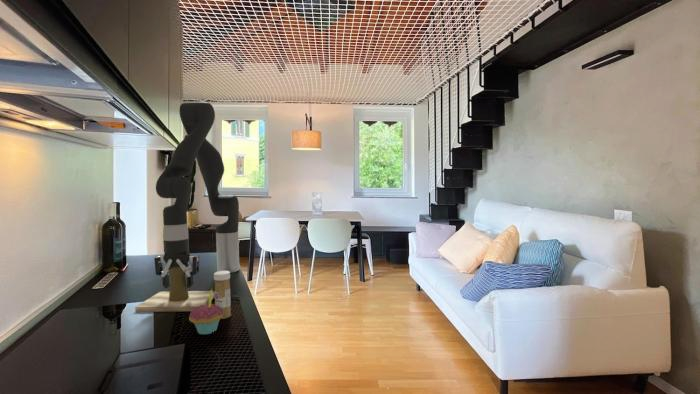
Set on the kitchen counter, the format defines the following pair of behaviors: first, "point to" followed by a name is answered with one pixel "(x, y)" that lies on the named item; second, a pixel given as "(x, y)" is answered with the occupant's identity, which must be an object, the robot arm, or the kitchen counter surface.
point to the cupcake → (206, 317)
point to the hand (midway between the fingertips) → (178, 287)
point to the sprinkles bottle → (223, 292)
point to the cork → (178, 285)
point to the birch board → (174, 302)
